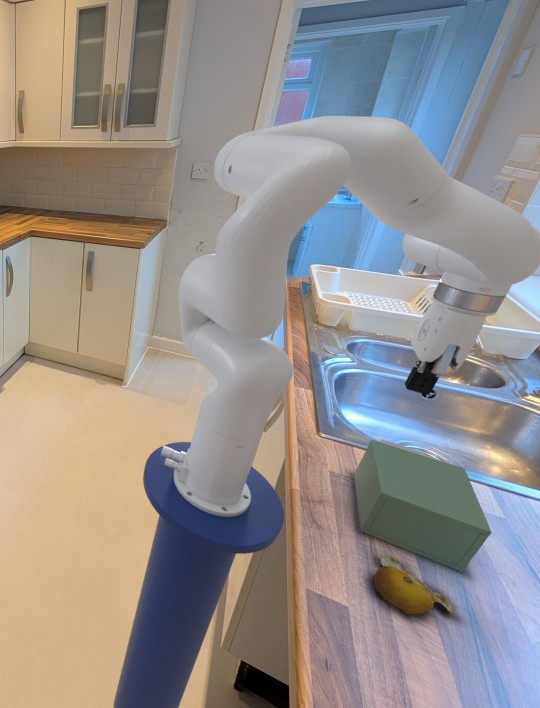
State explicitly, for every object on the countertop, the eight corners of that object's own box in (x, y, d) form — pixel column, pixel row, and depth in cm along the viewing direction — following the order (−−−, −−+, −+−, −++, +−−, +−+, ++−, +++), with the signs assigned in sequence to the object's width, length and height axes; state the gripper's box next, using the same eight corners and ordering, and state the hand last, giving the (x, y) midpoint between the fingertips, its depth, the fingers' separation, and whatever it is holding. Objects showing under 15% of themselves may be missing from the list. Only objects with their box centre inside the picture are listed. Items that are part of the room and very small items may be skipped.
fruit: (457, 609, 57) (470, 592, 55) (424, 637, 54) (436, 620, 52) (384, 554, 64) (394, 538, 62) (351, 577, 61) (361, 560, 59)
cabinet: (353, 475, 77) (371, 439, 74) (440, 505, 72) (464, 468, 68) (360, 531, 67) (381, 492, 64) (462, 572, 61) (491, 532, 58)
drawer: (357, 453, 81) (370, 425, 78) (430, 477, 76) (447, 448, 73) (365, 516, 69) (382, 486, 66) (454, 551, 63) (476, 519, 60)
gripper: (425, 278, 76) (383, 364, 84) (446, 307, 65) (395, 403, 73) (484, 288, 73) (434, 377, 80) (517, 320, 61) (455, 420, 69)
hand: (416, 389), depth 76 cm, fingers closed
